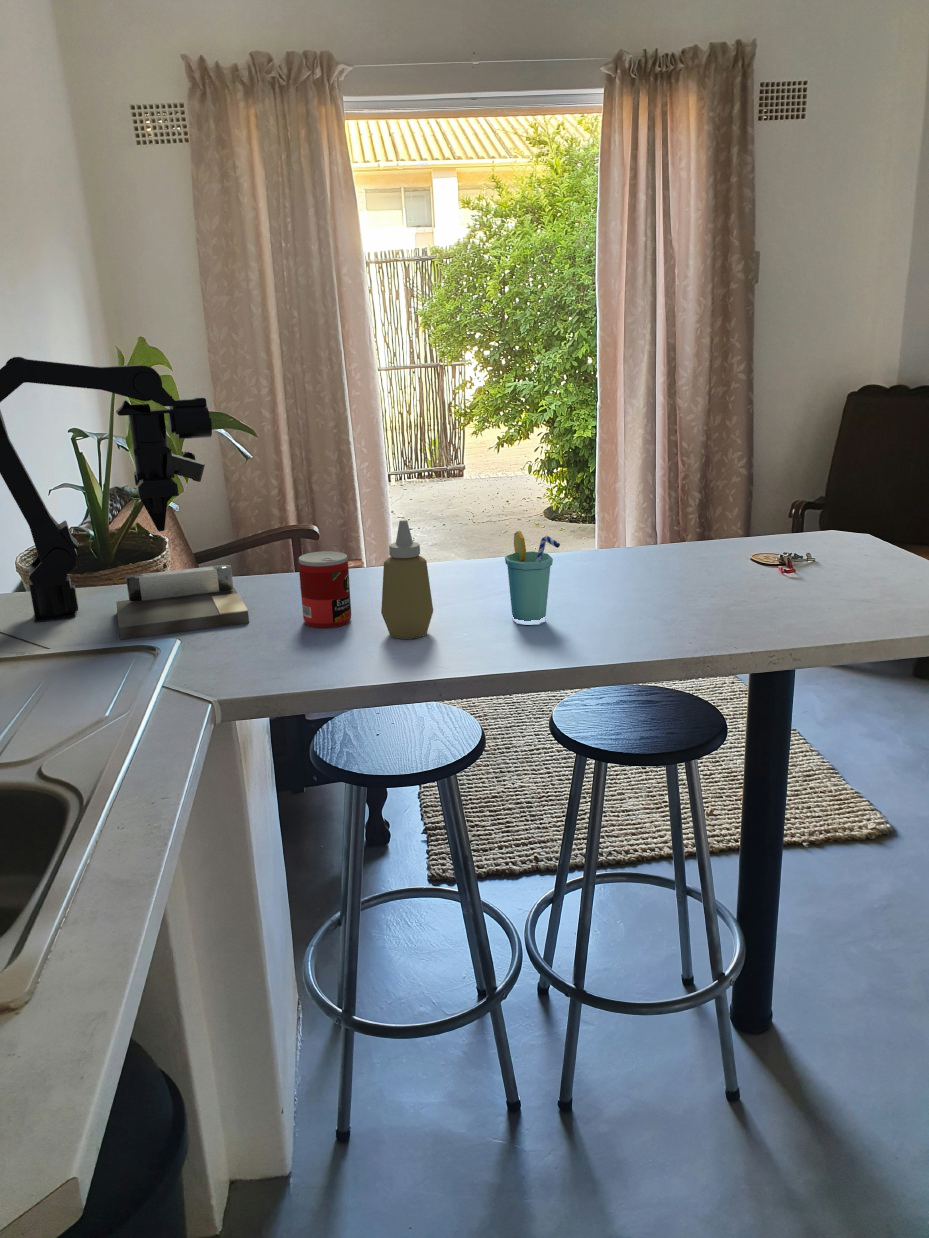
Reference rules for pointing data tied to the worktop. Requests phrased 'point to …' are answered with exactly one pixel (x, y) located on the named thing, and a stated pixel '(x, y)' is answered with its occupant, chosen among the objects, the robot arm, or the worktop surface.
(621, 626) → the worktop surface
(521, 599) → the cup
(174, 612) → the wooden board
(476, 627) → the worktop surface
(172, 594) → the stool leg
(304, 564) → the canned food
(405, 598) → the squeeze bottle
